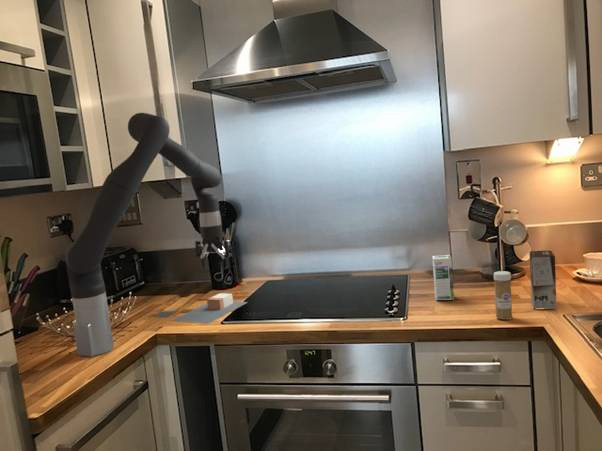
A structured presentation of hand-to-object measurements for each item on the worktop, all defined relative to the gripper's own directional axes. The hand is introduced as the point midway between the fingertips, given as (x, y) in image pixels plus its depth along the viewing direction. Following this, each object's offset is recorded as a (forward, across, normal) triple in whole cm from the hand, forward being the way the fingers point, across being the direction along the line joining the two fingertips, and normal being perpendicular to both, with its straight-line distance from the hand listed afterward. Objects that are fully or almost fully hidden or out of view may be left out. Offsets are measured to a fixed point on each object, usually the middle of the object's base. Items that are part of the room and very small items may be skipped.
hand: (215, 268), depth 183 cm
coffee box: (+14, -106, -18) cm, 109 cm away
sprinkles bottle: (+14, -96, -4) cm, 97 cm away
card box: (+14, 0, 0) cm, 14 cm away
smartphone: (+15, +15, +16) cm, 26 cm away
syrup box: (+14, -76, -21) cm, 80 cm away
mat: (+14, 0, +6) cm, 16 cm away
